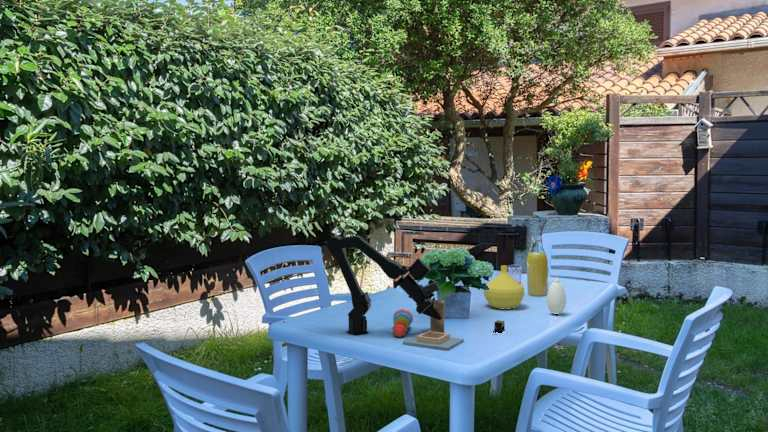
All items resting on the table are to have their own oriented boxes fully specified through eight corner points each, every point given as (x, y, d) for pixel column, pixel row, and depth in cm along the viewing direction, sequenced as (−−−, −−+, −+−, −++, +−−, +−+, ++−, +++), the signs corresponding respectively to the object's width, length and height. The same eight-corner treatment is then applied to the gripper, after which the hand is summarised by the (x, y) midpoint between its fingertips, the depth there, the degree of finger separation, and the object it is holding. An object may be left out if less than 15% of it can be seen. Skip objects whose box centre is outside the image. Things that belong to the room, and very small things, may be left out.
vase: (475, 307, 310) (475, 265, 309) (500, 301, 322) (500, 261, 321) (507, 313, 296) (507, 270, 295) (532, 307, 309) (532, 265, 307)
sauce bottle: (558, 317, 287) (558, 275, 286) (543, 314, 294) (543, 273, 292) (569, 314, 292) (569, 273, 291) (554, 312, 298) (554, 271, 297)
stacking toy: (397, 328, 273) (391, 344, 255) (391, 310, 273) (384, 325, 254) (415, 323, 272) (410, 339, 254) (409, 305, 271) (404, 319, 253)
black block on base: (495, 328, 271) (495, 317, 270) (513, 330, 268) (513, 319, 267) (486, 335, 260) (486, 323, 259) (504, 337, 256) (504, 325, 256)
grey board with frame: (402, 344, 245) (402, 336, 245) (420, 335, 257) (420, 328, 257) (448, 350, 236) (448, 342, 236) (463, 341, 249) (463, 333, 248)
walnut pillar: (430, 336, 257) (430, 302, 256) (431, 333, 262) (431, 300, 261) (443, 336, 256) (443, 302, 255) (444, 333, 261) (444, 300, 260)
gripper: (425, 278, 248) (455, 308, 248) (429, 270, 267) (457, 298, 266) (403, 298, 250) (433, 329, 249) (409, 289, 268) (437, 317, 268)
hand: (441, 317), depth 258 cm, fingers closed on walnut pillar, 5 cm apart
